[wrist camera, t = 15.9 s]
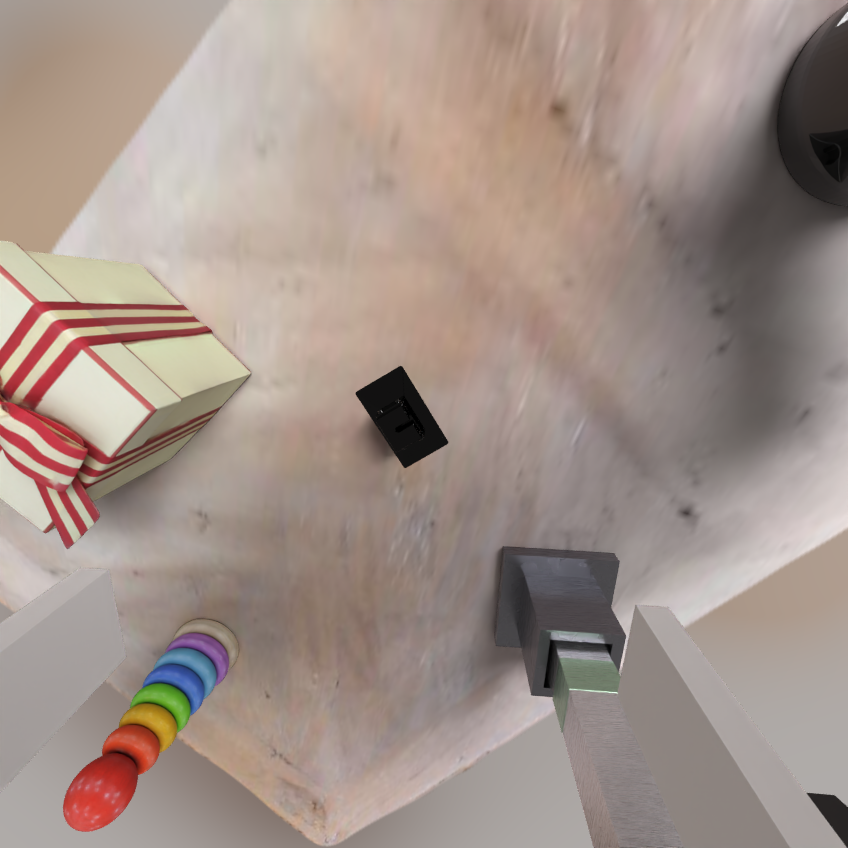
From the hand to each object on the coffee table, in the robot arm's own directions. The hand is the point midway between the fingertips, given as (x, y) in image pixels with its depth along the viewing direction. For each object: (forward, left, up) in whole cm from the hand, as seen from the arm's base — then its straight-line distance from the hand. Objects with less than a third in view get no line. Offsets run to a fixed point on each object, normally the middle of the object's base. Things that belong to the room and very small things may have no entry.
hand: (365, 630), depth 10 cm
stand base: (-15, +23, -32) cm, 42 cm away
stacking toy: (+26, +33, -32) cm, 53 cm away
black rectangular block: (+2, +3, -32) cm, 33 cm away
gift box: (+28, 0, -32) cm, 43 cm away
